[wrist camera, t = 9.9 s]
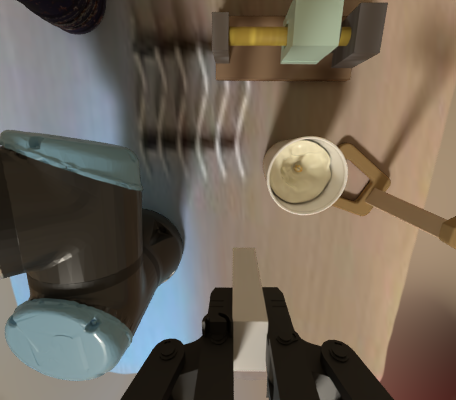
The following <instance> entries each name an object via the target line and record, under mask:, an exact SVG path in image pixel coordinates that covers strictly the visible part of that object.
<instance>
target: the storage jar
mask: <svg viewBox="0 0 456 400" xmlns="http://www.w3.org/2000/svg"><path fill="white" fill-rule="evenodd" d="M17 1H19V2H21V3H22V4H24V5H25V6H26V7H27V8H28V9H29V10H30V11H32V12H33V13H35V14H36V15H38V16H39V17H41V18H42V19H44V20H45V21H47V22H49V23H51V24H52V25H55V26H57V27H59V28H61V29H62V30H64V31H66V32H68V33H71V34H86V33H89V32H91V31H92V30H94V29H95V28H96V27H97V26H98V25H99V24H100V22H101V20H102V18H103V16H104V13H105V8H106V0H17Z"/></svg>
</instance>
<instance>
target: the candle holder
mask: <svg viewBox="0 0 456 400" xmlns="http://www.w3.org/2000/svg"><path fill="white" fill-rule="evenodd" d="M263 172H264V176H265V179H266V182H267V186H268V190H269V193H270V195H271V197H272V198H273V200H274V201H275V202H276V203H277V204H278V205H279V206H280V207H281V208H282V209H284V210H286V211H288V212H290V213H293V214H297V215H311V214H315V213H319V212H321V211H323V210H325V209H327V208H329V207H330V206H331V205H332V204H334V203H335V202H336V201H337V200H338V198H339V197H340V196H341V194H342V192H343V191H344V188H345V186H346V183H347V178H348V166H347V162H346V159H345V157H344V155H343V153H342V152H341V150H340V149H339V148H338V147H337V146H336V145H335V144H334V143H332V142H331V141H329V140H327V139H325V138H321V137H317V136H304V137H299V138H294V139H287V140H283V141H280V142H278V143H276V144H274V145H273V146H272V147H271V148H270V149H269V150H268V151H267V153H266V154H265V157H264V160H263Z"/></svg>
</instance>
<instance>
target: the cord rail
mask: <svg viewBox="0 0 456 400" xmlns="http://www.w3.org/2000/svg"><path fill="white" fill-rule="evenodd" d="M387 5H388V3H360V4H359V5H358V6H357V7H356V8H355V9H354V10H353V11H352V12H351V13H350V15H349V16H342V21H341V29H340V37H339V45H338V47H336V48H335V49H334V50H333V51H332V52H330V53H329V54H328V55H327V56H325V57H324V58H323V59H321V60H320V61H319V62H318V63H317V64H280V61H281V46H286V45H287V35H288V27H283V21H284V19H285V17H286V16H229V12H212V51H213V55H214V59H215V62H216V80H226V81H348V80H350V77H351V70H352V68H353V67H355V66H357V65H358V64H360V63H362V62H364V61H366V60H367V59H369V58H371V57H373V56H375V55H377V54H378V53H380V47H381V41H382V35H383V29H384V23H385V17H386V11H387Z"/></svg>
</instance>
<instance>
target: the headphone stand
mask: <svg viewBox="0 0 456 400" xmlns="http://www.w3.org/2000/svg"><path fill="white" fill-rule="evenodd" d="M338 148H339V149H340V150H341V152H342V153H343V155H344V157H345V159H348V160H350V161H351V162H352V163H353V164H354V165H355V166H356V167H357V168H359V169H360V170H361V171H362V172H363V173H364V174H365V175H366V176H367V177H369V179H370V182H369V183H368V185H367V186H366V187H365V189H364V190H363V191H362V193H361V194H360V195H359V197H358V198H357V199H356V200H355V201H351V200H348V199H345V198H343V197H339V198H338V200H337V201H336V202H335V203H334V204H332V206H335V207H337V208H340V209H343V210H346V211H348V212H351V213H354V214H357V215H360V216H365V215H367V214H368V213H369V212H370V211H371V209H372V208H373V207H376V208H378V209H380V210H382V211H384V212H386V213H388V214H390V215H392V216H394V217H396V218H398V219H400V220H402V221H404V222H406V223H408V224H410V225H413V226H415V227H417V228H419V229H421V230H423V231H425V232H427V233H429V234H431V235H433V236H435V237H437V238H439V239H440V240H441V241H443V242H445V243H446V244H448V245H449V246H451V247H453V248H454V249H456V216H455V217H453V218H451V219H449V220H446V219H444V218H442V217H439V216H437V215H435V214H433V213H430V212H428V211H426V210H424V209H421V208H419V207H417V206H415V205H412V204H410V203H408V202H406V201H404V200H401V199H399V198H397V197H395V196H392V195H390V194H388V193H386V192H385V191H386V190H387V189H388V188H389V186H390V184H391V181H390V179H389V178H388V177H387V176H386V175H385V174H384V173H383V172H382V171H381V170H379V169H378V168H377V167H376V166H375V165H374V164H373V163H372V162H371V161H370V160H368V159H367V158H366V157H365V156H364V155H363V154H362V153H361V152H360V151H359V150H358V149H356V148H355V147H354V146H353V145H352V144H350V143H342V144H340V145H339V146H338Z"/></svg>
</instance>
